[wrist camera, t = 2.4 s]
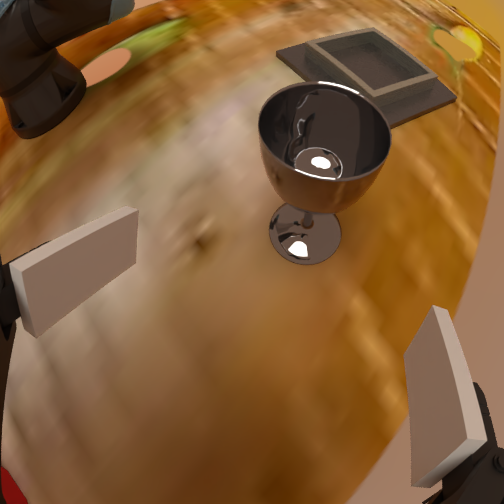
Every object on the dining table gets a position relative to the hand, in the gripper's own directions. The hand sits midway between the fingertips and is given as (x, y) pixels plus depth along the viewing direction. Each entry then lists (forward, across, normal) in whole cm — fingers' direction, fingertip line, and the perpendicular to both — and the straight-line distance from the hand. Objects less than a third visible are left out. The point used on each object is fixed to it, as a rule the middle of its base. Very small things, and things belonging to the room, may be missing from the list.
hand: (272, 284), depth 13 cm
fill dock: (+38, +2, +16) cm, 41 cm away
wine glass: (+19, 0, -4) cm, 19 cm away
